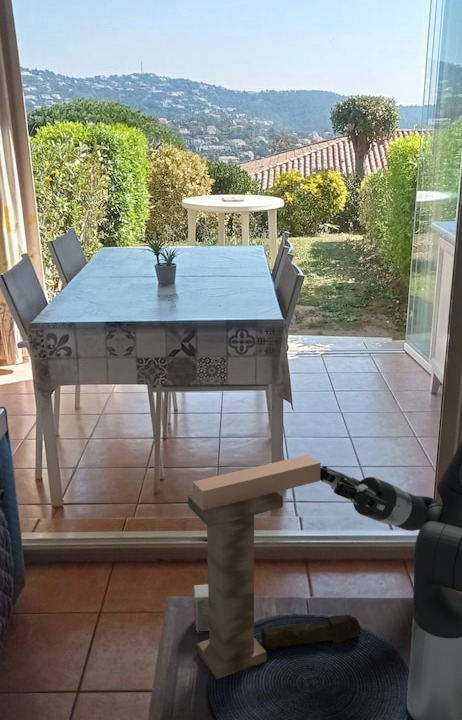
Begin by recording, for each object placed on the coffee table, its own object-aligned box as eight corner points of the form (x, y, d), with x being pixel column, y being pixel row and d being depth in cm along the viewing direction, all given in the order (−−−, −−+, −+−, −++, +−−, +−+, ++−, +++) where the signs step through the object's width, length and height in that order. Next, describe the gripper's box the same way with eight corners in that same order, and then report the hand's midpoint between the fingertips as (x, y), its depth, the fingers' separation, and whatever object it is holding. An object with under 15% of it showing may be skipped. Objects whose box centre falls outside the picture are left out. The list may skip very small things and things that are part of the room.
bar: (307, 472, 133) (308, 454, 132) (320, 480, 130) (320, 462, 129) (192, 500, 123) (192, 481, 122) (203, 510, 120) (202, 491, 119)
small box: (219, 617, 144) (219, 582, 142) (221, 631, 140) (221, 595, 138) (194, 619, 144) (193, 584, 141) (195, 633, 140) (194, 597, 137)
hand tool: (263, 655, 134) (264, 634, 132) (260, 641, 137) (260, 620, 136) (364, 646, 136) (365, 624, 135) (357, 632, 140) (358, 611, 139)
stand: (258, 631, 140) (259, 478, 131) (280, 655, 133) (282, 496, 124) (192, 654, 134) (187, 495, 125) (211, 681, 127) (208, 515, 118)
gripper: (368, 470, 147) (310, 446, 139) (416, 499, 135) (356, 474, 127) (351, 503, 147) (293, 481, 139) (398, 535, 135) (337, 513, 127)
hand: (323, 478), depth 133 cm, fingers open, 8 cm apart
